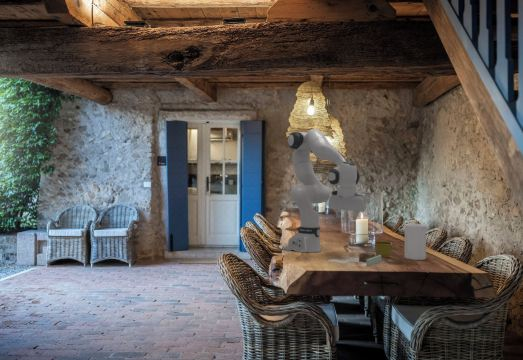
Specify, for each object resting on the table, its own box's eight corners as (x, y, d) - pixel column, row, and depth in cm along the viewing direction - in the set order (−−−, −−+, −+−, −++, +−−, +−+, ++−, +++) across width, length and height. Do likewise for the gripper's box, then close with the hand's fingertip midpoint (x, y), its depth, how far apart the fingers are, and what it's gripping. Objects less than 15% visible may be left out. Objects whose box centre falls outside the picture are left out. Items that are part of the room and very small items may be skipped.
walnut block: (359, 261, 234) (359, 253, 234) (363, 259, 239) (363, 252, 239) (370, 263, 231) (370, 255, 231) (374, 261, 236) (374, 253, 236)
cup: (426, 260, 248) (426, 226, 247) (404, 259, 251) (404, 225, 251) (425, 257, 258) (425, 224, 258) (404, 256, 261) (404, 223, 261)
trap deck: (326, 263, 235) (326, 255, 235) (341, 258, 250) (341, 250, 249) (368, 269, 223) (368, 260, 223) (381, 263, 237) (381, 255, 237)
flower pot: (391, 261, 245) (392, 244, 245) (374, 260, 247) (375, 243, 247) (390, 258, 254) (391, 241, 254) (374, 257, 256) (374, 241, 255)
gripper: (368, 193, 242) (367, 220, 242) (333, 191, 253) (332, 216, 254) (363, 194, 237) (362, 221, 237) (327, 191, 248) (326, 217, 249)
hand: (346, 218), depth 246 cm, fingers open, 8 cm apart
